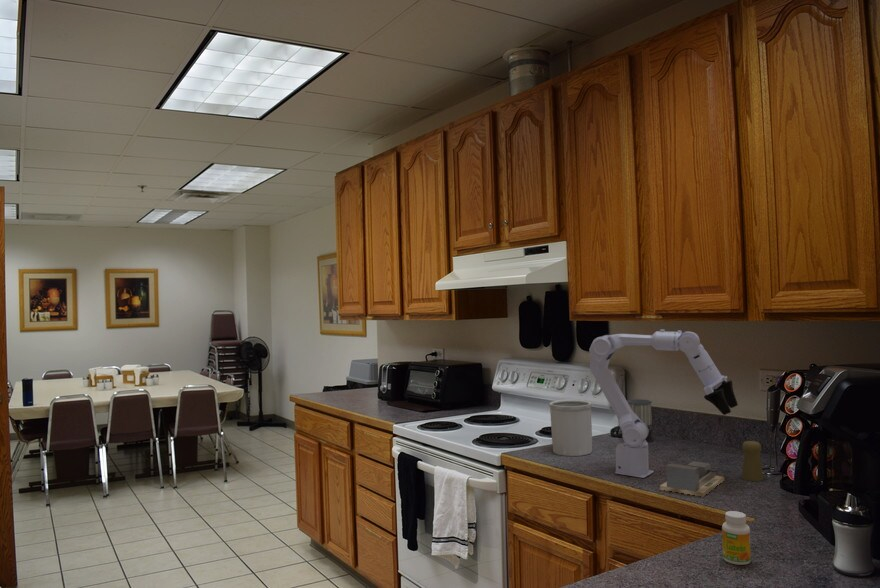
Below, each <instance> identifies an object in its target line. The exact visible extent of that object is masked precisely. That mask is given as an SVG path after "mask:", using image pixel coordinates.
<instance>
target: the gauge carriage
mask: <svg viewBox="0 0 880 588" xmlns="http://www.w3.org/2000/svg"><path fill="white" fill-rule="evenodd" d="M686 466H692V467H699V479H701V478H702V477H704V476H705V475H707V474H708V473H709V472H715V474H717V473H718V471H717V470H712V469H711V463H707V462H700V461H694V460H693V461H691V462H689V463H688V464H687V465H686Z"/></svg>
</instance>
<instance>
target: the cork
mask: <svg viewBox="0 0 880 588" xmlns="http://www.w3.org/2000/svg"><path fill="white" fill-rule="evenodd" d="M741 447H742V451H743V452H744V453H743V460H742V461H743V462H742V463H743V464H742V469H741V470H742V471H741V479H742V480H745V481H748V482H762V481H761V480H763V479H764V480H765V478H764V472H763V471H764V470H763V466H762V465H763V464H762V459H761V453H762V445H761V443H760V442H758V441H755V440H746V441H744V442H742V445H741ZM764 480H763V481H764Z"/></svg>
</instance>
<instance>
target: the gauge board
mask: <svg viewBox="0 0 880 588" xmlns="http://www.w3.org/2000/svg"><path fill="white" fill-rule="evenodd" d="M723 481H724V482H725V476H723V475H716V472H709V473H708V474H707V475H705V476H704V477H702V478H701V479H699V490H697V491H696V492H694V491H688V490H682V489H677V488H671V487H667V480H666V481H665V482H663V483H662V484H660V485H659V490H660V491H664V490H665V492H669V491H672V492H671V493H675V492H678V493H677V494H681V493H684V494H683V495H687V494H690V495H689V496H692V495H695V496H694V497H698V496H701V497H700V498H705V495H706V494H707V495H708V494H710V493H711V492H712V491H713V490H714V488H715V487H716V486H717V485H718V486H720V485H721V484H723ZM720 483H721V484H720ZM719 484H720V485H719ZM718 486H717V487H718ZM717 487H716V488H717ZM716 488H715V489H716ZM711 490H712V491H711ZM710 491H711V492H710ZM709 492H710V493H709ZM707 495H706V496H707Z"/></svg>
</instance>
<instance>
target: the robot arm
mask: <svg viewBox="0 0 880 588" xmlns="http://www.w3.org/2000/svg"><path fill="white" fill-rule="evenodd" d="M624 346H651V347H653V349H655V350H656V351H669V352H670V351H671V352H672V351H675V352H678V351H679V350H680V351H681V352H683V353H684V354H685V356H686V357H687V359H688V362H689V364H690V365H691V366H692V368H693V370H694V371H695V373H696V374H697V376H698V378H699V380H700V382H701V383H702V385H703V386H704V387H703V391H704V393H705V395H704V399H705V400H706V401H708V402H709V403H711V404H712V405H713V406H714V407H715V408H716V409H718V411H719V412H720V413H721V414H722V415H723V416H726V415H727V414H730V413H731V412H732V409H733V408H735V407H737V406H738V405H739V404H738V401H737V398H736V394H735V392H734V388H733V386H734V385H733V380H727V379H728V376H727V375H722V373H721V372H720V371H719V369H718V368H717V366H716V364H715V362H714V361H713V359H712V358H711V356H710V354H709V353H708V351H707V350H705V347H704V345H702V343H701V340H700V337H699V334H697V333H696V332H693V331H690V330H687V331H686V330H685V331H684V332H682V330H677V331H666V329H659V331H657V330H656V331H655V332H654V333H653V334H635V333H634V334H632V333H615V334H605V335H602V336H598V337H596V338H594V339H593V341H592V343H591V344H590V347H589V350H588V351H589V369H590V371H591V374H592V375H593V377H594V379H595V381H596V382H597V384H598V386H599V387H600V390H601V391H602V393H603V394H604V397H605V398H606V400H607V402H608V404H609V406H610V407H611V409H612V411H613V412H614V414H615V416H616V418H617V419H618V426H620V428H621V429H620V430H621V432H622V433H621V434H622V437H621V438H622V440H623V441H624V442H620V443H618V444H617V445H616V448H615V472H614V474H616V475H617V474H618V475H621V476H622V475H624V476H629V477H630V476H631V477H635V478H641V479H645V478H646V477H648V476H650V475H652V474H653V473H655V472H654V470H652V469H649V468H650V466H649V442H646V440H645V438H646V437H647V436H648V433H649V430H648V427H647V426H646V424H645V423H643V422H642V421H641V420H640V419H639V417H638V416H637V415H636V414H635V413H634V412H633V411H632V409H631V407H630V406H629V404H628V402H627V401H628V400H627V399H626V397H625V396H624V394H623V392H622V390H621V388H620V387H619V385H618V383H617V381H616V379H615V377H614V375H612V373H611V371H610V369H609V364H610V362H611V361H610V360H611V359H612V356H613V355H614V354H615V352H617V350H619V349H621V348H623V347H624Z"/></svg>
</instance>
